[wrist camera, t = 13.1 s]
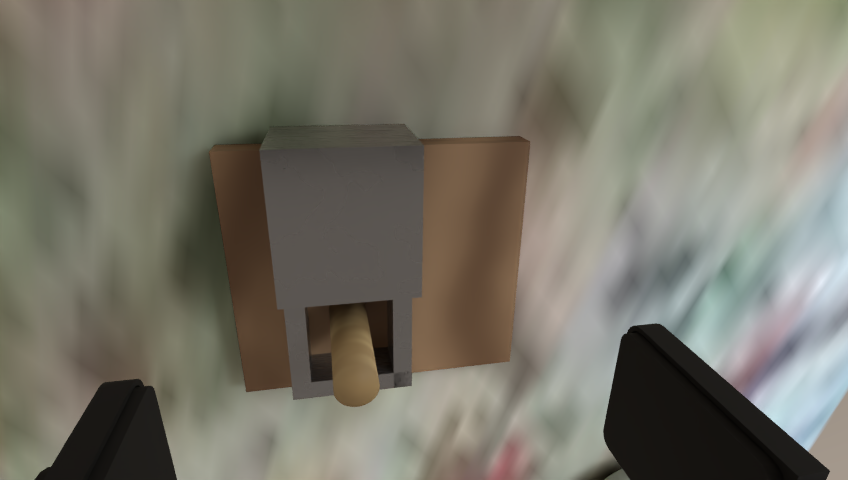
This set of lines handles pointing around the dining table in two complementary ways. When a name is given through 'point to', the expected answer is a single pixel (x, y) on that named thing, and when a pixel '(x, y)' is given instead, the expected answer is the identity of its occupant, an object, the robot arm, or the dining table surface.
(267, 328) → the board
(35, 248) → the dining table surface
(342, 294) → the open ended gray sleeve
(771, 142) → the dining table surface
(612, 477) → the air freshener
